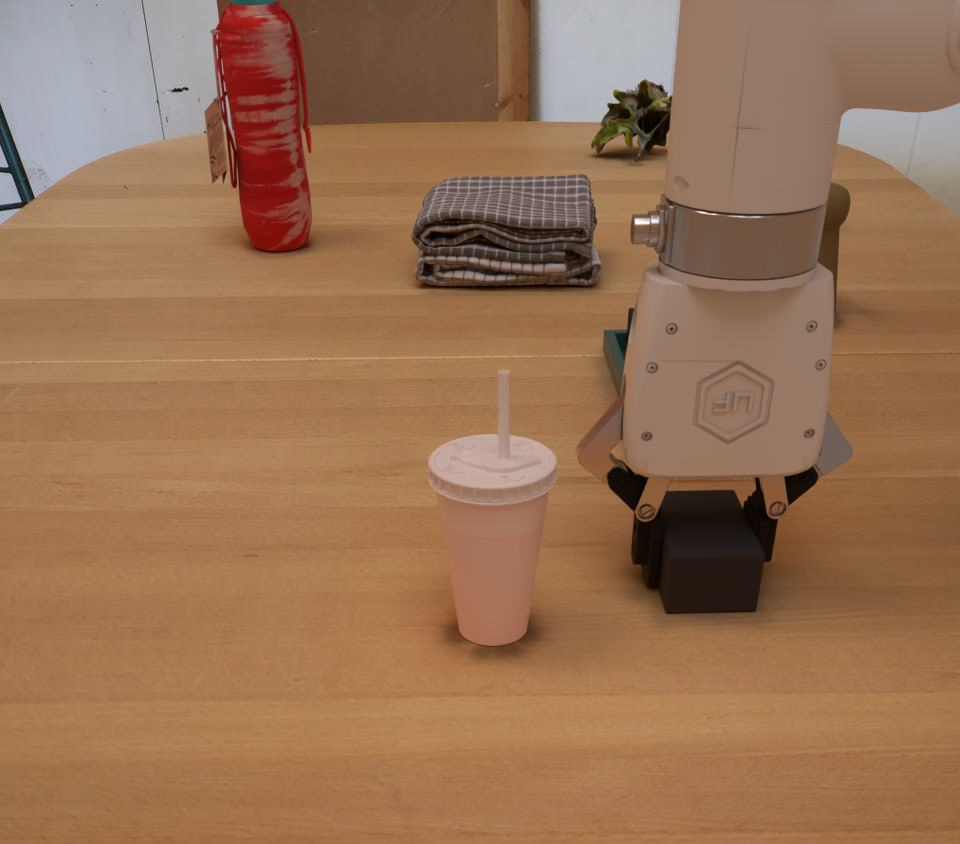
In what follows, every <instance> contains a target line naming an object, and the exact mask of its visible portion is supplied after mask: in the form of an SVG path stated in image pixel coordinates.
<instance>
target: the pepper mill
mask: <svg viewBox="0 0 960 844" xmlns="http://www.w3.org/2000/svg"><path fill="white" fill-rule="evenodd" d="M850 209H851V195H850V192H849V190H848V189H847V188H846V187H845V186H843V185H841V184H839V183H835V182H831V183H830V189H829V195H828V200H827V207H826V213H825V219H824V225H823V231H822V237H821V243H820V249H819V255H818V261H817V262H818V263H820V264H821V265H823V266H824V267H825V268H827V269H828V270H830V271H831V272H832V274H833V284H834V314H836V312H837V311H836V310H837V295H838V294H837V290H838V272H839V271H838V269H839V249H840V228H841V226H842V225H843V224H844V223H845V221H846V220H847V217H848V216H849V213H850Z"/></svg>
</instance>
